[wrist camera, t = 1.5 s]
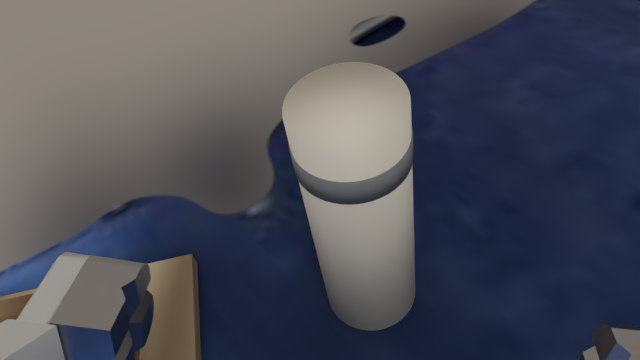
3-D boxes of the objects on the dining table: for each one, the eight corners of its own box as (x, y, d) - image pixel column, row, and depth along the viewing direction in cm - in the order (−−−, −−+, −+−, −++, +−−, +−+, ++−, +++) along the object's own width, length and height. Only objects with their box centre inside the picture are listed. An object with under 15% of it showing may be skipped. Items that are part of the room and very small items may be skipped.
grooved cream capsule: (403, 244, 32) (393, 50, 22) (427, 320, 29) (429, 134, 19) (320, 262, 32) (273, 76, 22) (335, 340, 29) (290, 165, 19)
